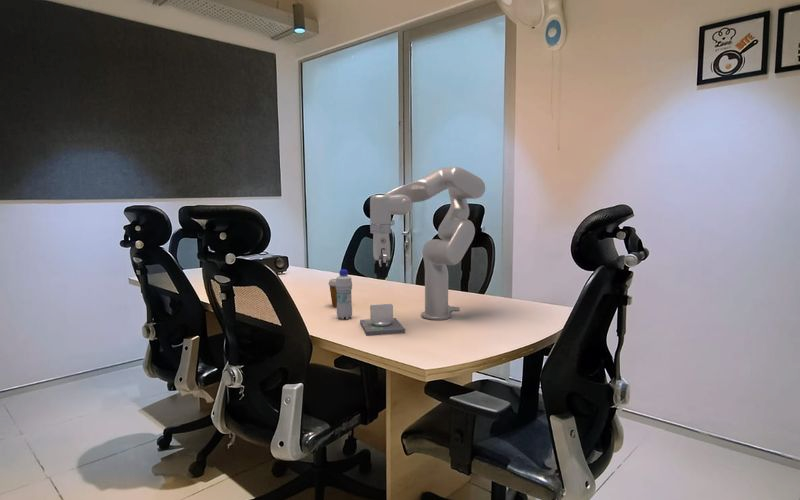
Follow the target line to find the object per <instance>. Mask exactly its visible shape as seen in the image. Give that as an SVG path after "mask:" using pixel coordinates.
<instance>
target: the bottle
mask: <svg viewBox="0 0 800 500" xmlns="http://www.w3.org/2000/svg"><path fill="white" fill-rule="evenodd" d="M338 274H339V276H336V278H335V279H336V290H337V308H336V316H337V318H338V319H339V320H344V319H346V320H348V319H351V318H352V317H353V316H352V315H353V305H352V289H353V282H352V277H351V276H349V272H348V270H347V269H340V270H339V273H338Z"/></svg>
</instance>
